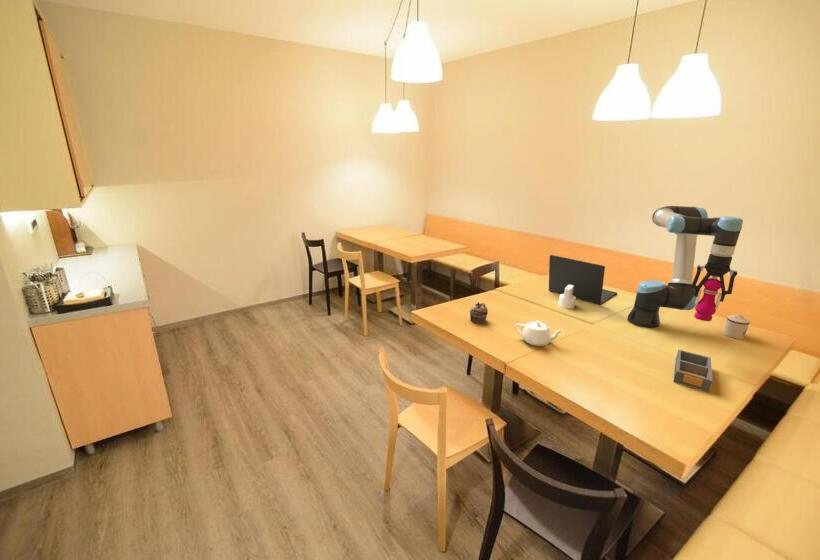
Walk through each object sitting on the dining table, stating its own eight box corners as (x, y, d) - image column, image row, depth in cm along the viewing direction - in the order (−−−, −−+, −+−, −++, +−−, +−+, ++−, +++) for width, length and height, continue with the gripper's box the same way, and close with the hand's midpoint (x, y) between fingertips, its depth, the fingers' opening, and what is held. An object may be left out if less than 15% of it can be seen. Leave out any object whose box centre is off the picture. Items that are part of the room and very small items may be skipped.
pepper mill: (688, 315, 169) (700, 272, 162) (703, 314, 169) (715, 272, 163) (701, 322, 162) (714, 278, 155) (717, 321, 163) (730, 277, 156)
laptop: (616, 294, 248) (625, 255, 240) (596, 308, 225) (604, 266, 216) (567, 282, 270) (573, 246, 262) (544, 293, 247) (549, 254, 239)
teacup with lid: (746, 341, 187) (754, 319, 183) (723, 336, 191) (730, 315, 187) (741, 331, 197) (748, 311, 193) (719, 327, 201) (725, 307, 197)
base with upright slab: (560, 301, 233) (563, 283, 229) (575, 305, 228) (579, 286, 224) (556, 306, 226) (559, 287, 222) (572, 309, 221) (575, 290, 217)
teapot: (511, 342, 181) (513, 322, 177) (516, 331, 193) (518, 312, 189) (559, 353, 172) (563, 332, 168) (562, 340, 184) (565, 320, 180)
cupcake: (486, 316, 209) (487, 300, 206) (487, 324, 200) (489, 307, 197) (468, 315, 210) (469, 299, 207) (469, 323, 201) (470, 306, 197)
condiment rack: (673, 382, 151) (676, 371, 150) (675, 359, 169) (678, 349, 167) (708, 392, 145) (712, 381, 143) (707, 367, 162) (710, 357, 161)
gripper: (692, 252, 159) (679, 303, 166) (752, 260, 148) (735, 314, 156) (692, 249, 164) (679, 298, 172) (750, 256, 154) (733, 308, 161)
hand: (706, 305), depth 164 cm, fingers closed on pepper mill, 6 cm apart
